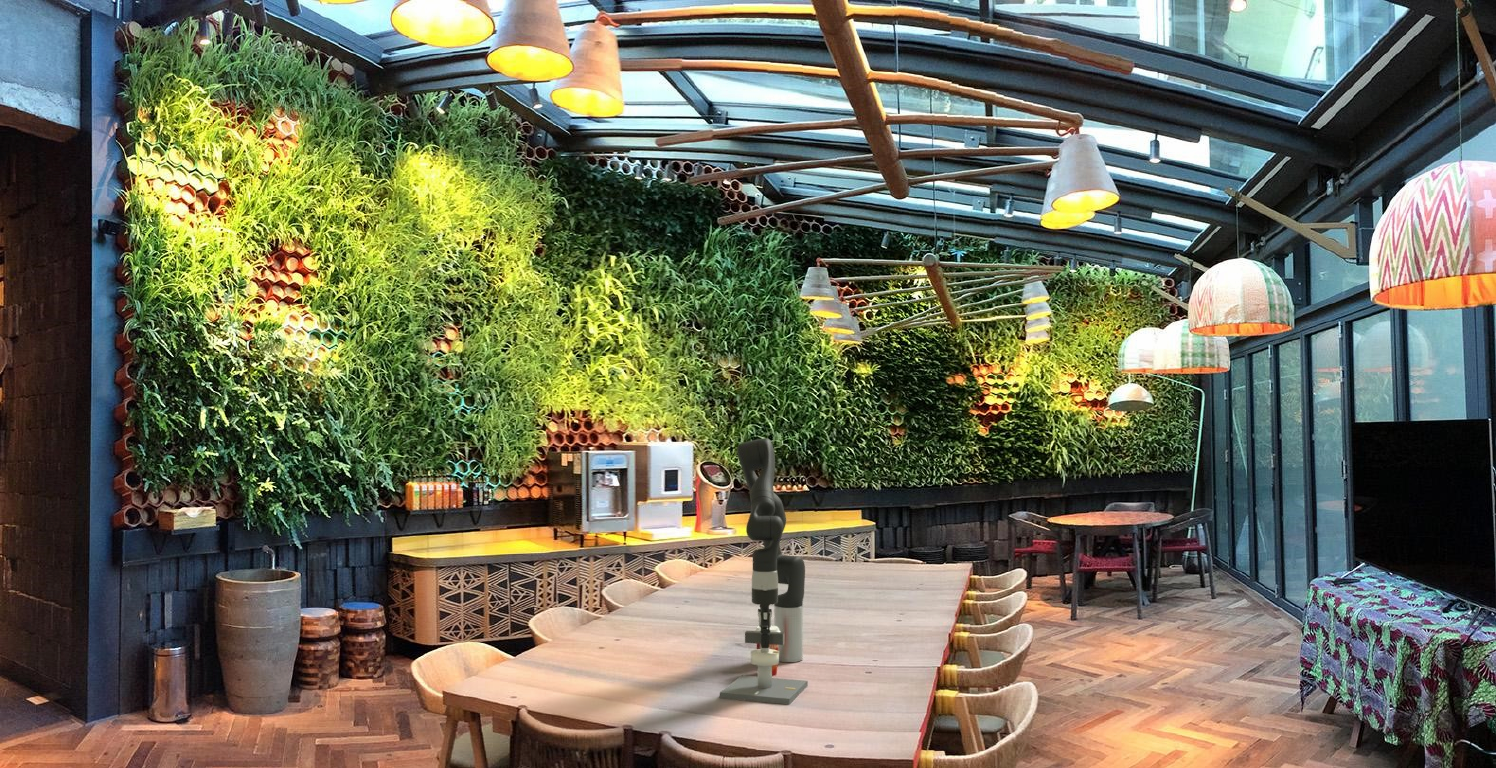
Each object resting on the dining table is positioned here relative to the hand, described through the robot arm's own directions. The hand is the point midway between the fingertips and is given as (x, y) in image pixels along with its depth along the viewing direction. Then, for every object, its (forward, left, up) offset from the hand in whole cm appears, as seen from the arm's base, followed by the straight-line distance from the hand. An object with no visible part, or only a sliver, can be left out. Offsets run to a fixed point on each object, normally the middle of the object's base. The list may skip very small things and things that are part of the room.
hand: (764, 644), depth 281 cm
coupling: (0, 0, -5) cm, 5 cm away
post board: (0, 0, -13) cm, 13 cm away
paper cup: (-20, -5, -13) cm, 25 cm away
